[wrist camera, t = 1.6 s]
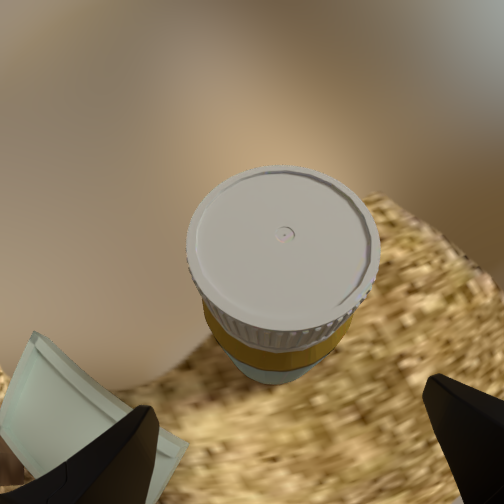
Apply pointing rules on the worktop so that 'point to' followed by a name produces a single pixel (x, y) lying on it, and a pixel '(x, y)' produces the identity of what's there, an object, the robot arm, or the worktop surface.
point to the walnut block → (10, 466)
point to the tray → (67, 414)
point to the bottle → (281, 267)
